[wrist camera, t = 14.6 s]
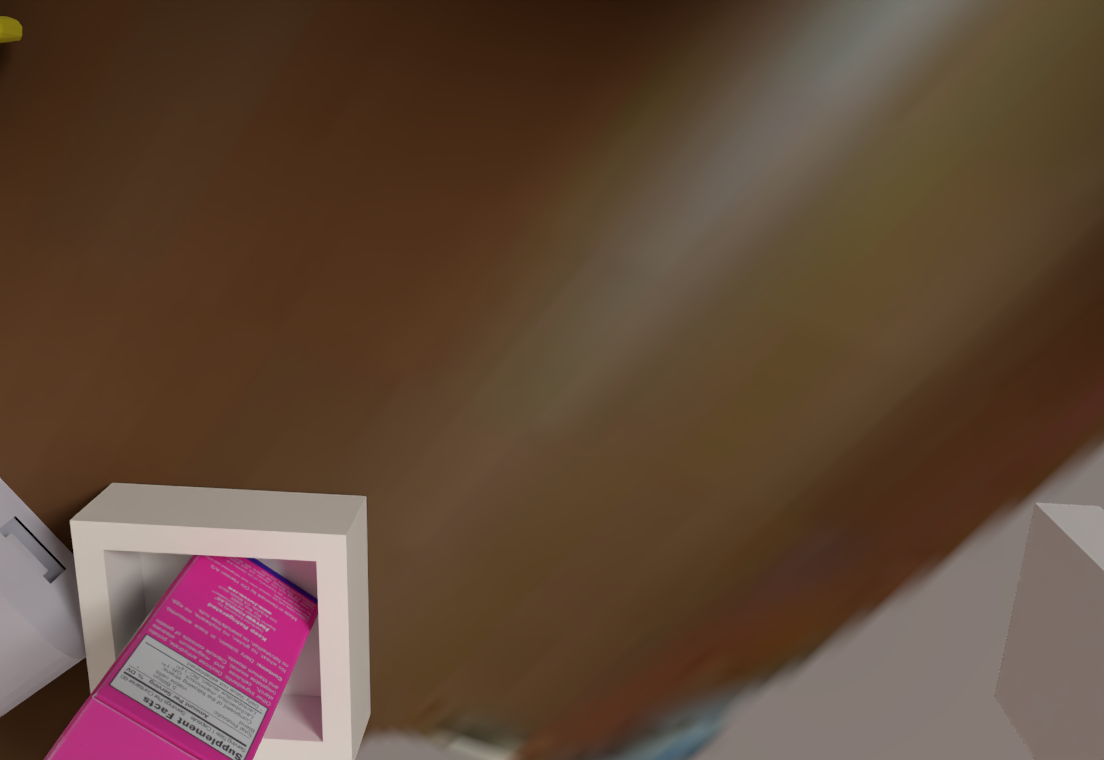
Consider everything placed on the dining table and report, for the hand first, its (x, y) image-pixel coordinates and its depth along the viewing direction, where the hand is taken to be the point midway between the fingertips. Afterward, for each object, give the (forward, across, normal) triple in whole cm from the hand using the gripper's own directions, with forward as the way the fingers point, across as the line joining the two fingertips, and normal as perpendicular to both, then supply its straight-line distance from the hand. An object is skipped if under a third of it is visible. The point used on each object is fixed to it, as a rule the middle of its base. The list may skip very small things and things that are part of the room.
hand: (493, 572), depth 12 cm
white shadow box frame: (+27, -13, -17) cm, 34 cm away
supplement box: (+26, -13, -17) cm, 34 cm away
